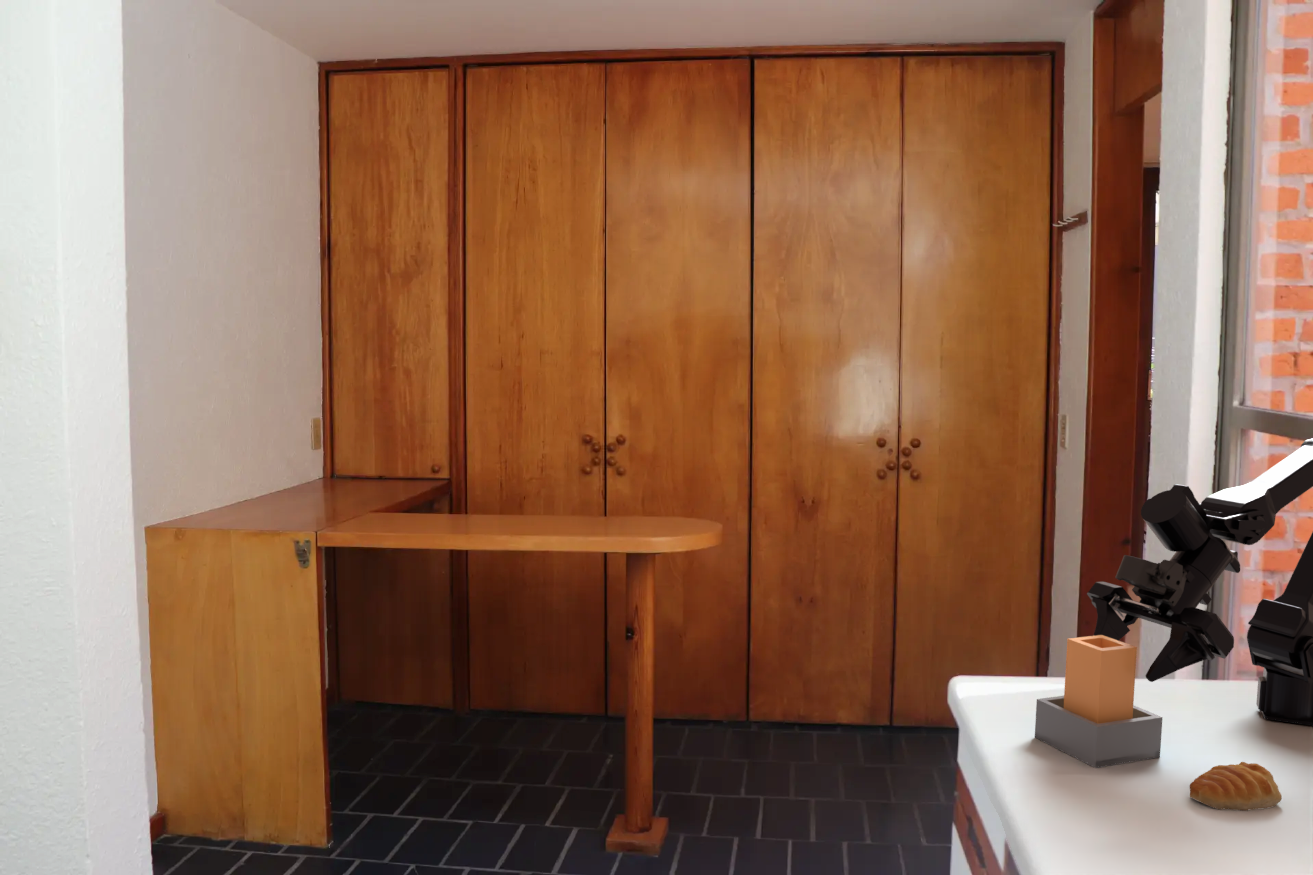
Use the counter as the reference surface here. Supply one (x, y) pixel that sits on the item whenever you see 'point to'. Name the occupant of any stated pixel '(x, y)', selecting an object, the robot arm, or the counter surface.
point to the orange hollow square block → (1100, 678)
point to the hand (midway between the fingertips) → (1118, 668)
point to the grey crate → (1098, 734)
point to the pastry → (1236, 787)
